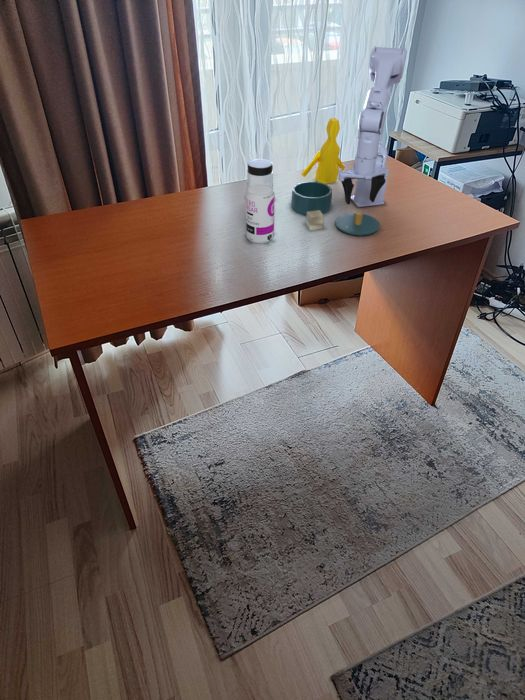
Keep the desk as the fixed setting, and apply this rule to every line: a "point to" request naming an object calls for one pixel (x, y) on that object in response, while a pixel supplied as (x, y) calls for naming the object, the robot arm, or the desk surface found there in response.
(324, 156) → the figure statuette
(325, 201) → the tin
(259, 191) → the supplement can
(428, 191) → the desk surface
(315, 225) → the block
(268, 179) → the jar
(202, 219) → the desk surface
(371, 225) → the lid
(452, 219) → the desk surface
